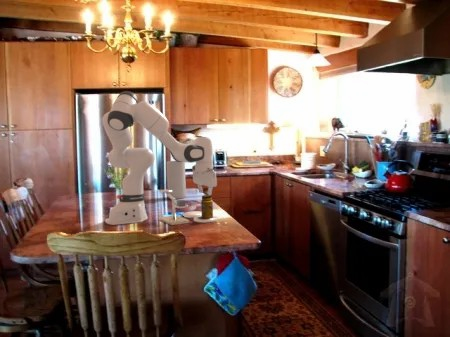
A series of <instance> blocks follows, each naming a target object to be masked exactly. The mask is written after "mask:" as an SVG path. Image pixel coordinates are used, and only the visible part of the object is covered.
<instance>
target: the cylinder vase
mask: <svg viewBox="0 0 450 337" xmlns="http://www.w3.org/2000/svg"><path fill="white" fill-rule="evenodd" d="M166 182H167V183H166V186H167V190H173V192H168V193H169V194H170V195H171V196H172V197H173V198H175V200H182V199H184V198H187V188H186V187H187V186H186V185H187V184H186V162H177V161H175V160H168V161H166ZM167 198H168V199H170V200H172V199H171V198H170V197H169V196H168V195H167Z"/></svg>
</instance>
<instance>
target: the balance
mask: <svg viewBox="0 0 450 337" xmlns="http://www.w3.org/2000/svg"><path fill="white" fill-rule="evenodd" d="M168 192H173V190H168V189H162V190H161V189H160V190H159V193H161V194H163V193H164V194H165V195H167V197H168V196H169V197H170V198H171V199H170V198H169V199H170V200H171V206H172V207H171V208H172V210H171V211H172V215H171V216H162V217H159V220H160V221H161V222H164V223H165V224H168V225H170V226H176V225H183V224H188V223H190V219H188V218H186V217H183V216H180V215H177V214H176V209H185V208H188V207H189V205H188V204H186V200H184V199H175V198H173V197H172V196H171V195H170V194H169V193H168Z"/></svg>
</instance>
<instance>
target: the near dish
mask: <svg viewBox="0 0 450 337" xmlns="http://www.w3.org/2000/svg"><path fill="white" fill-rule="evenodd" d="M198 217H202V216H198ZM213 217H216V218H212V219H205V220H201V219H198V218H196V217H195V218H193V222H196V223H203V224H204V223H206V224H207V223H214V222H217V221H219V217H218V216H216V215H213Z"/></svg>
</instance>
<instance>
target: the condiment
mask: <svg viewBox="0 0 450 337" xmlns="http://www.w3.org/2000/svg"><path fill="white" fill-rule="evenodd" d="M200 205H201V206H200V207H201V211H200V212H202V217H196V218H198V219H201V220H205V219H212V218H216V217H213V216H214V206H213V197H212V194H211V195H208V194H203V195H202V196H201V202H200Z"/></svg>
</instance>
